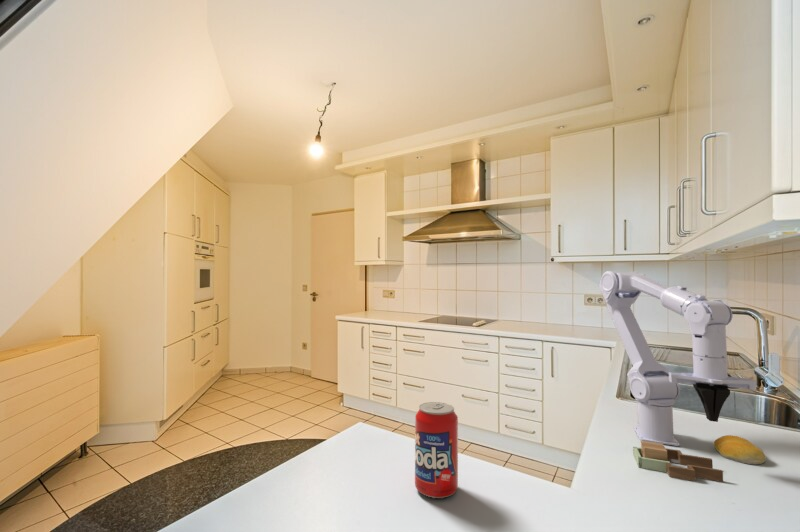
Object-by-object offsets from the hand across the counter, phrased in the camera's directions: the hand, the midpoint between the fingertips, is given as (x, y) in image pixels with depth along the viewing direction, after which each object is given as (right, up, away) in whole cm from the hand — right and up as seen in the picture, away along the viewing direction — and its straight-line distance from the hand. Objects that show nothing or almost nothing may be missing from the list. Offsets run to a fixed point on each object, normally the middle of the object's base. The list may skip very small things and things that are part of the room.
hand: (712, 420), depth 80 cm
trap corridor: (-9, -9, -2) cm, 13 cm away
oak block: (-13, -9, -1) cm, 16 cm away
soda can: (-60, -8, -12) cm, 62 cm away
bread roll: (+10, -10, +4) cm, 15 cm away
